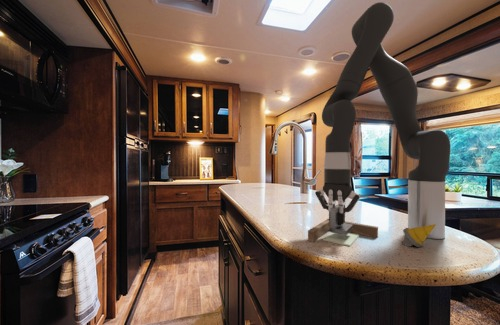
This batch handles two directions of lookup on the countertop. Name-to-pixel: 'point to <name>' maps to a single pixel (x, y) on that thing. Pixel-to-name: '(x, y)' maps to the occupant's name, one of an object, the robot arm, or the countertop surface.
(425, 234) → the yellow spiral cone
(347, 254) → the countertop surface
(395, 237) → the countertop surface
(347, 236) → the mat
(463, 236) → the countertop surface
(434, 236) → the robot arm
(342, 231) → the angle bracket
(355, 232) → the corner walls
